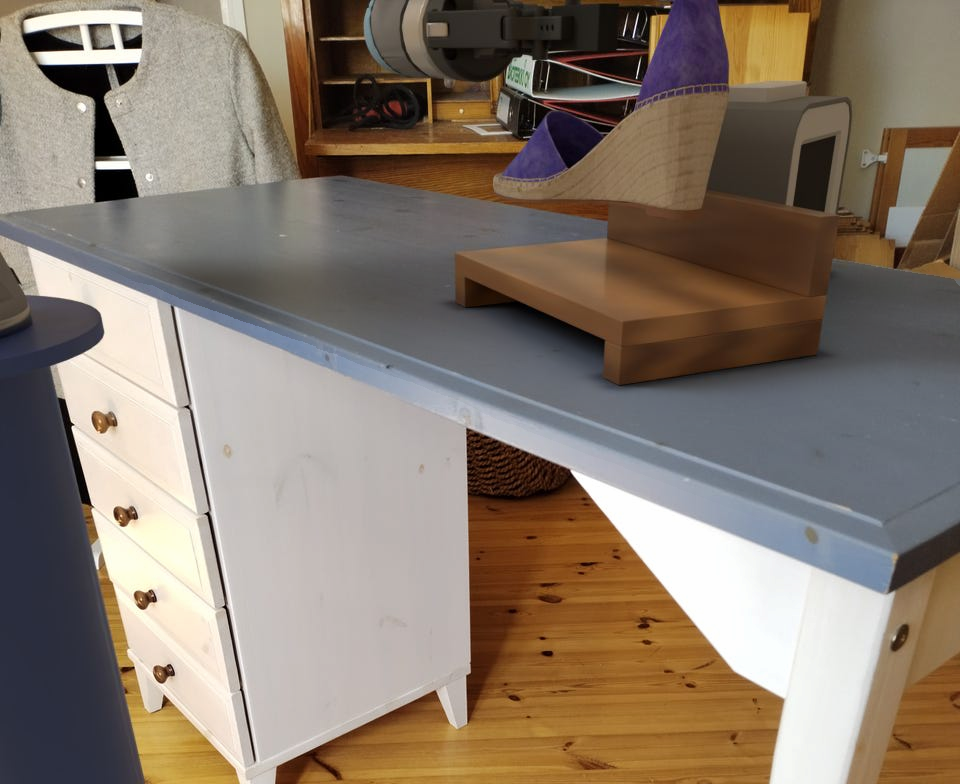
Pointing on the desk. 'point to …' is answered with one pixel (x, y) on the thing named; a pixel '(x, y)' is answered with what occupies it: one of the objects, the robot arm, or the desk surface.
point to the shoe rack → (675, 285)
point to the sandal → (639, 132)
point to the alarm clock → (783, 145)
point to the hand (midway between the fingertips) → (608, 27)
